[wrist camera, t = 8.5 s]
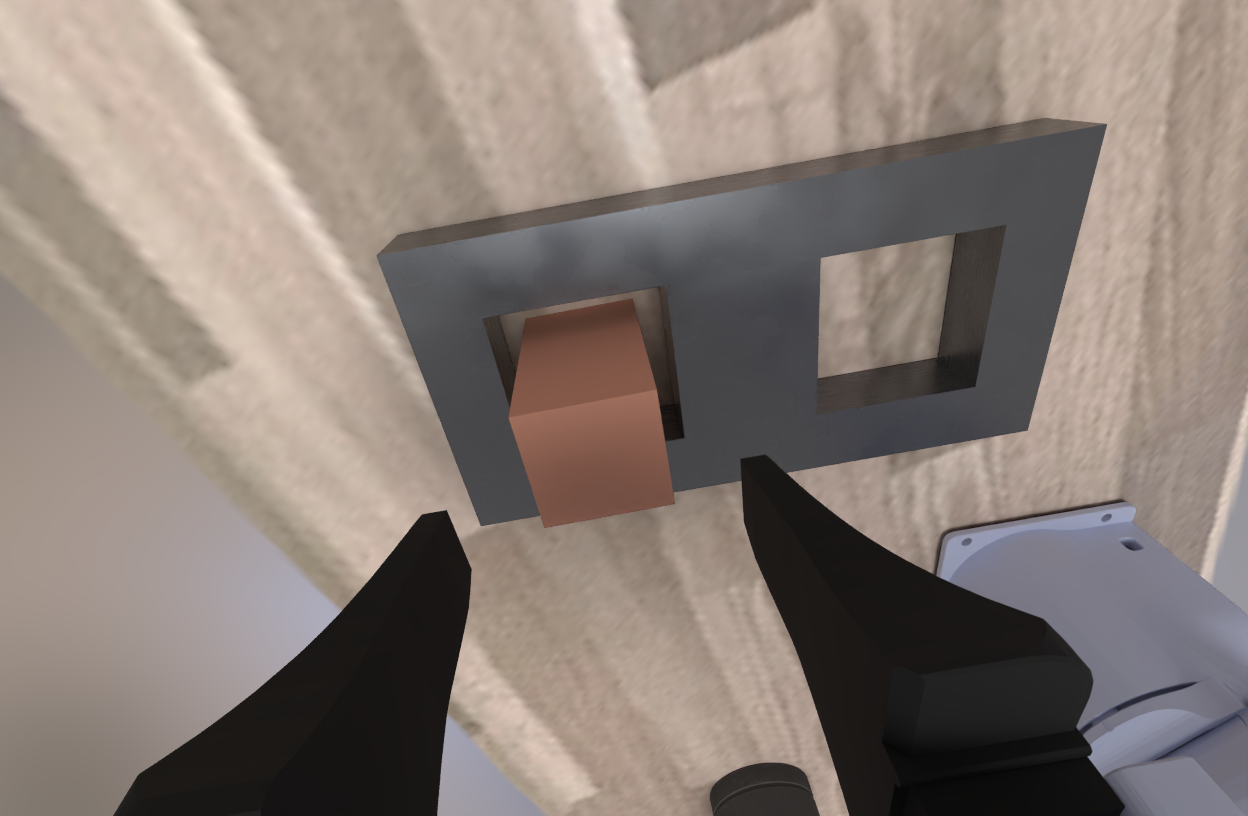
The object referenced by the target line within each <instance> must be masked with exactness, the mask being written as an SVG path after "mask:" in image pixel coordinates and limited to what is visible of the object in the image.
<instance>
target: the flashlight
mask: <svg viewBox="0 0 1248 816" xmlns="http://www.w3.org/2000/svg"><path fill="white" fill-rule="evenodd" d="M710 800H711V805H712V810H713V815H714V816H820V815H819V812H818V809H817V806H816V803H815V800H814V799H813V794H812V791H811V788H810V785H809V782H808V779H807V777H806V775H805V773H804V772H803V771H801V770H800V769H798V768H796V767H794V766H791V765H787V764H780V763H765V764H757V765H752V766H748V767H745V768H742V769H739V770H736V771H734V772H732V773H730V774H728V775H727V776H725V777H723V778H722V779H721V780H720V781H718V782H717V783H716V784H715V786H714V787H713V789H712V791H711V793H710Z"/></svg>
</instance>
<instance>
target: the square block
mask: <svg viewBox="0 0 1248 816" xmlns="http://www.w3.org/2000/svg"><path fill="white" fill-rule="evenodd" d="M508 418H509V421H510V424H511V427H512V430H513V433H514V436H515V439H516V442H517V445H518V448H519V451H520V455H521V458H522V461H523V464H524V467H525V470H526V473H527V476H528V479H529V482H530V485H531V488H532V491H533V494H534V497H535V501H536V504H537V507H538V510H539V513H540V516H541V519H542V522H543V525H544V528H547V527H552V526H558V525H563V524H569V523H574V522H579V521H585V520H590V519H596V518H601V517H607V516H612V515H617V514H623V513H628V512H634V511H639V510H645V509H650V508H655V507H661V506H666V505H672V504H675V501H674V494H673V488H672V482H671V475H670V469H669V463H668V457H667V450H666V444H665V438H664V431H663V425H662V419H661V412H660V406H659V400H658V393H657V388H656V385H655V381H654V377H653V374H652V370H651V366H650V363H649V359H648V355H647V352H646V348H645V344H644V341H643V337H642V333H641V329H640V326H639V322H638V318H637V315H636V311H635V307H634V304H633V300H632V299H627V300H622V301H617V302H611V303H606V304H601V305H596V306H590V307H585V308H580V309H575V310H569V311H564V312H559V313H554V314H548V315H543V316H538V317H533V318H527V319H526V322H525V328H524V333H523V339H522V344H521V350H520V356H519V361H518V367H517V373H516V378H515V384H514V389H513V395H512V401H511V406H510V412H509V417H508Z"/></svg>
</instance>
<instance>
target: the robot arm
mask: <svg viewBox="0 0 1248 816" xmlns="http://www.w3.org/2000/svg"><path fill="white" fill-rule="evenodd" d="M740 463H741V479H742V496H743V513H744V523H745V527H746V530H747V533H748V536H749V540H750V543H751V546H752V549H753V552H754V555H755V559H756V561H757V563H758V566H759V568H760V570H761V572H762V575H763V577H764V579H765V581H766V583H767V586H768V588H769V590H770V592H771V595H772V597H773V599H774V601H775V603H776V606H777V608H778V610H779V612H780V614H781V617H782V619H783V621H784V623H785V626H786V628H787V630H788V632H789V634H790V637H791V639H792V641H793V644H794V646H795V649H796V651H797V654H798V656H799V659H800V662H801V665H802V668H803V671H804V674H805V677H806V680H807V683H808V686H809V689H810V691H811V694H812V697H813V700H814V704H815V707H816V710H817V713H818V716H819V719H820V722H821V725H822V728H823V731H824V734H825V737H826V741H827V744H828V747H829V750H830V753H831V757H832V760H833V763H834V766H835V769H836V773H837V776H838V779H839V782H840V786H841V789H842V792H843V795H844V799H845V802H846V806H847V809H848V812H849V816H1248V615H1247V614H1246V613H1245V612H1244V611H1243V610H1242V609H1241V608H1239V607H1238V606H1237V605H1236V604H1235V603H1233V602H1232V601H1231V600H1230V599H1228V598H1227V597H1226V596H1225V595H1223V594H1222V593H1221V592H1220V591H1218V590H1217V589H1216V588H1215V587H1213V586H1212V585H1211V584H1210V583H1208V582H1207V581H1206V580H1205V579H1203V578H1202V577H1201V576H1200V575H1198V574H1197V573H1196V572H1195V571H1193V570H1192V569H1191V568H1190V567H1188V566H1187V565H1186V564H1185V563H1183V562H1182V561H1181V560H1180V559H1178V558H1177V557H1176V556H1175V555H1173V554H1172V553H1171V552H1170V551H1168V550H1167V549H1166V548H1165V547H1163V546H1162V545H1161V544H1160V543H1158V542H1157V541H1156V540H1155V539H1154V538H1152V537H1151V536H1150V535H1149V534H1147V533H1146V532H1145V531H1144V530H1142V529H1141V528H1140V527H1139V526H1137V525H1136V524H1135V523H1134V522H1132V520H1133V518H1134V516H1135V513H1136V508H1135V507H1134V506H1133V505H1132V504H1130V503H1128V502H1121V503H1116V504H1110V505H1104V506H1098V507H1092V508H1087V509H1081V510H1075V511H1069V512H1064V513H1058V514H1052V515H1046V516H1041V517H1035V518H1029V519H1023V520H1018V521H1012V522H1006V523H1000V524H994V525H989V526H983V527H977V528H971V529H966V530H960V531H954V532H951V533H949V534H947V535H946V536H945V537H944V539H943V542H942V548H941V553H940V558H939V563H938V569H937V574H936V575H934V574H932V573H930V572H928V571H926V570H924V569H922V568H920V567H918V566H916V565H914V564H912V563H910V562H908V561H906V560H905V559H903V558H901V557H899V556H897V555H896V554H894V553H892V552H890V551H889V550H887V549H885V548H884V547H882V546H881V545H879V544H877V543H876V542H874V541H872V540H871V539H869V538H868V537H866V536H865V535H863V534H862V533H860V532H859V531H857V530H856V529H854V528H853V527H852V526H850V525H849V524H848V523H846V522H845V521H843V520H842V519H841V518H839V517H838V516H837V515H835V514H834V513H833V512H831V511H830V510H829V509H828V508H826V507H825V506H824V505H823V504H821V503H820V502H819V501H818V500H817V499H815V498H814V497H813V496H812V495H810V494H809V493H808V492H807V491H806V490H805V489H803V488H802V487H801V486H800V485H799V484H798V483H797V482H795V481H794V480H793V479H792V478H791V477H790V476H789V475H788V474H787V473H786V472H784V471H783V470H782V469H781V468H780V467H779V466H778V465H777V464H776V463H775V462H774V461H773V460H772V459H771V458H770V457H768V456H767V455H759V456H753V457H747V458H742V459H740ZM471 570H472V569H471V567H470V564H469V562H468V560H467V557H466V555H465V553H464V550H463V548H462V545H461V543H460V541H459V538H458V536H457V534H456V531H455V529H454V526H453V524H452V522H451V519H450V517H449V515H448V512H447V510H445V511H439V512H433V513H428V514H422V515H421V516H420V518H419V519H418V520H417V521H416V522H415V524H414V525H413V526H412V527H411V529H410V530H409V531H408V532H407V534H406V535H405V536H404V537H403V539H402V540H401V541H400V543H399V544H398V545H397V546H396V548H395V549H394V550H393V551H392V553H391V554H390V555H389V556H388V558H387V559H386V560H385V561H384V563H383V564H382V565H381V566H380V568H379V569H378V570H377V571H376V572H375V574H374V575H373V576H372V577H371V579H370V580H369V581H368V582H367V583H366V584H365V585H364V587H363V588H362V589H361V590H360V591H359V592H358V593H357V595H356V596H355V597H354V598H353V599H352V600H351V601H350V602H349V604H348V605H347V606H346V607H345V608H344V609H343V610H342V611H341V613H340V614H339V615H338V616H337V617H336V618H335V619H334V620H333V621H332V622H331V623H330V624H329V625H328V626H327V627H326V628H325V629H324V630H323V631H322V633H320V634H319V635H318V636H317V637H316V638H315V639H314V640H313V641H312V642H311V643H310V644H309V645H308V646H307V647H306V648H305V649H304V650H303V651H301V652H300V654H298V655H297V656H296V657H295V658H294V659H293V660H291V661H290V662H289V663H288V664H287V665H286V666H284V667H283V668H282V669H281V670H280V671H279V672H278V673H276V675H274V676H273V677H272V678H271V679H269V680H268V681H267V682H266V683H265V684H264V685H262V686H261V687H260V688H259V689H258V690H256V692H254V693H253V694H251V696H249V697H248V698H246V699H245V700H244V701H243V702H241V703H240V704H239V705H237V706H236V707H235V708H234V709H232V710H231V711H230V712H228V713H227V714H226V715H224V716H223V717H222V718H220V719H219V720H218V721H216V722H215V723H214V724H212V725H211V726H209V727H208V728H207V729H205V730H204V731H202V732H201V733H200V734H198V735H197V736H196V737H194V738H192V739H191V740H189V741H188V742H187V743H185V744H184V745H182V746H181V747H179V748H178V749H176V750H175V751H173V752H172V753H170V754H169V755H167V756H166V757H164V758H163V759H161V760H160V761H158V762H157V763H155V764H154V765H153V766H151V767H149V768H148V769H146V770H145V771H143V772H142V773H140V774H139V775H138V776H137V778H136V780H135V781H134V783H133V784H132V786H131V788H130V789H129V791H128V792H127V794H126V796H125V797H124V799H123V801H122V802H121V804H120V805H119V807H118V809H117V811H116V812H115V814H114V815H113V816H437V810H438V797H439V785H440V774H441V763H442V753H443V743H444V734H445V725H446V717H447V711H448V705H449V700H450V694H451V690H452V685H453V681H454V676H455V671H456V667H457V662H458V657H459V653H460V648H461V643H462V639H463V634H464V629H465V624H466V619H467V614H468V609H469V599H470V586H471Z"/></svg>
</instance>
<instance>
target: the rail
mask: <svg viewBox="0 0 1248 816" xmlns="http://www.w3.org/2000/svg"><path fill="white" fill-rule="evenodd" d="M1106 127H1107V124H1101V123H1091V122H1081V121H1071V120H1061V119H1050V118H1044V119H1038V120H1033V121H1027V122H1022V123H1016V124H1011V125H1005V126H999V127H994V128H988V129H983V130H977V131H972V132H966V133H961V134H955V135H950V136H944V137H938V138H933V139H927V140H922V141H916V142H911V143H905V144H900V145H894V146H889V147H883V148H877V149H872V150H866V151H861V152H855V153H850V154H844V155H839V156H833V157H828V158H822V159H816V160H811V161H805V162H800V163H794V164H789V165H783V166H778V167H772V168H767V169H761V170H755V171H750V172H744V173H739V174H733V175H728V176H722V177H717V178H711V179H706V180H700V181H694V182H689V183H683V184H678V185H672V186H667V187H661V188H656V189H650V190H645V191H639V192H633V193H628V194H622V195H617V196H611V197H606V198H600V199H595V200H589V201H584V202H578V203H572V204H567V205H561V206H556V207H550V208H545V209H539V210H534V211H528V212H523V213H517V214H511V215H506V216H500V217H495V218H489V219H484V220H478V221H473V222H467V223H462V224H456V225H450V226H445V227H439V228H434V229H428V230H423V231H417V232H412V233H406V234H401V235H398V236H397V237H395V238H394V239H393V240H392V241H391V242H390V243H389V244H388V245H387V246H386V247H385V248H384V249H383V250H382V251H381V252H380V253H379V254H378V255H377V258H378V261H379V264H380V266H381V269H382V271H383V274H384V277H385V279H386V282H387V284H388V287H389V289H390V292H391V295H392V297H393V300H394V302H395V305H396V308H397V310H398V313H399V315H400V318H401V321H402V323H403V326H404V328H405V331H406V333H407V336H408V339H409V341H410V344H411V346H412V349H413V352H414V354H415V357H416V359H417V362H418V365H419V367H420V370H421V372H422V375H423V377H424V380H425V383H426V385H427V388H428V390H429V393H430V396H431V398H432V401H433V403H434V406H435V408H436V411H437V414H438V416H439V419H440V421H441V424H442V427H443V429H444V432H445V434H446V437H447V440H448V442H449V445H450V447H451V450H452V452H453V455H454V458H455V460H456V463H457V465H458V468H459V471H460V473H461V476H462V478H463V481H464V484H465V486H466V489H467V491H468V494H469V496H470V499H471V502H472V504H473V507H474V509H475V512H476V515H477V517H478V520H479V522H480V525H481V526H485V525H490V524H496V523H502V522H507V521H513V520H519V519H525V518H530V517H536V516H540V513H539V510H538V507H537V504H536V501H535V497H534V494H533V491H532V488H531V485H530V482H529V479H528V476H527V473H526V470H525V467H524V464H523V461H522V458H521V455H520V451H519V448H518V445H517V442H516V439H515V436H514V433H513V430H512V427H511V424H510V421H509V418H508V417H509V412H510V406H511V401H512V395H513V389H514V384H515V378H516V375H515V372H514V368H513V365H512V361H511V358H510V354H509V351H508V348H507V344H506V341H505V337H504V334H503V330H502V327H501V323H500V320H499V316H498V315H503V314H509V313H514V312H520V311H526V310H531V309H537V308H542V307H548V306H554V305H559V304H565V303H570V302H576V301H582V300H587V299H593V298H598V297H604V296H610V295H615V294H621V293H626V292H632V291H638V290H643V289H649V288H654V287H659V289H660V297H661V305H662V313H663V321H664V329H665V336H666V344H667V352H668V360H669V368H670V375H671V383H672V391H673V399H674V405H669V406H663V407H660V412H661V419H662V425H663V431H664V438H665V444H666V450H667V457H668V463H669V469H670V475H671V482H672V488H673V492H679V491H685V490H690V489H696V488H702V487H708V486H713V485H719V484H725V483H730V482H736V481H742V479H741V463H740V459H742V458H747V457H753V456H759V455H767V456H768V457H770V458H771V459H772V460H773V461H774V462H775V463H776V464H777V465H778V466H779V467H780V468H781V469H782V470H783V471H784V472H786V473H788V472H793V471H799V470H805V469H810V468H816V467H822V466H828V465H833V464H839V463H845V462H850V461H856V460H862V459H868V458H873V457H879V456H885V455H890V454H896V453H902V452H908V451H913V450H919V449H925V448H930V447H936V446H942V445H948V444H953V443H959V442H965V441H970V440H976V439H982V438H988V437H993V436H999V435H1005V434H1010V433H1016V432H1022V431H1028V427H1029V423H1030V419H1031V415H1032V411H1033V408H1034V404H1035V400H1036V396H1037V392H1038V388H1039V384H1040V381H1041V377H1042V373H1043V369H1044V365H1045V361H1046V358H1047V354H1048V350H1049V346H1050V342H1051V338H1052V334H1053V331H1054V327H1055V323H1056V319H1057V315H1058V311H1059V307H1060V304H1061V300H1062V296H1063V292H1064V288H1065V284H1066V281H1067V277H1068V273H1069V269H1070V265H1071V261H1072V257H1073V254H1074V250H1075V246H1076V242H1077V238H1078V234H1079V230H1080V227H1081V223H1082V219H1083V215H1084V211H1085V207H1086V204H1087V200H1088V196H1089V192H1090V188H1091V184H1092V180H1093V177H1094V173H1095V169H1096V165H1097V161H1098V157H1099V153H1100V150H1101V146H1102V142H1103V138H1104V134H1105V130H1106ZM951 234H956V241H955V248H954V254H953V261H952V268H951V275H950V281H949V288H948V295H947V301H946V308H945V315H944V322H943V328H942V335H941V342H940V348H939V355H938V358H935V359H929V360H924V361H918V362H912V363H907V364H901V365H895V366H890V367H884V368H878V369H873V370H867V371H861V372H856V373H850V374H844V375H839V376H833V377H827V378H822V379H817V375H818V336H819V297H820V258H822V257H828V256H834V255H839V254H845V253H850V252H856V251H862V250H867V249H873V248H878V247H884V246H890V245H895V244H901V243H906V242H912V241H918V240H923V239H929V238H934V237H940V236H946V235H951Z"/></svg>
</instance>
